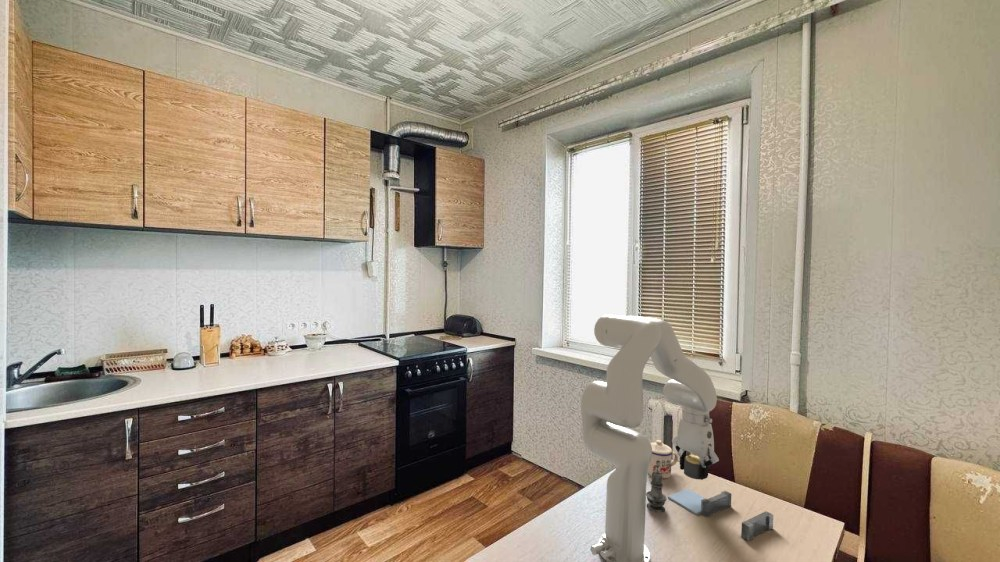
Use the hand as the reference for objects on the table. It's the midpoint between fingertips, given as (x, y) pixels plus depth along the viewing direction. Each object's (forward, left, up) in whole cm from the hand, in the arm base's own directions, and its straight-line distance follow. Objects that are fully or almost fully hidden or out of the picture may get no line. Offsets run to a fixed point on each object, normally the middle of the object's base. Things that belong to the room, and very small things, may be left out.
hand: (693, 472), depth 125 cm
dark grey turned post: (-13, +3, -9) cm, 16 cm away
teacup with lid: (+7, +17, -9) cm, 21 cm away
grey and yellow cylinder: (0, 0, -1) cm, 1 cm away
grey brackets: (+3, -12, -9) cm, 15 cm away
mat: (0, 0, -9) cm, 9 cm away
